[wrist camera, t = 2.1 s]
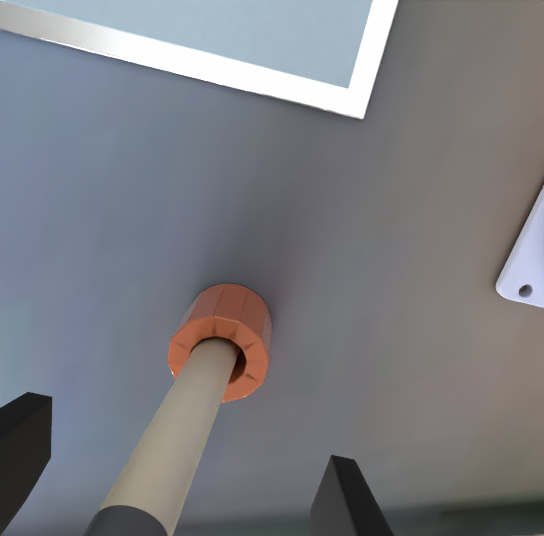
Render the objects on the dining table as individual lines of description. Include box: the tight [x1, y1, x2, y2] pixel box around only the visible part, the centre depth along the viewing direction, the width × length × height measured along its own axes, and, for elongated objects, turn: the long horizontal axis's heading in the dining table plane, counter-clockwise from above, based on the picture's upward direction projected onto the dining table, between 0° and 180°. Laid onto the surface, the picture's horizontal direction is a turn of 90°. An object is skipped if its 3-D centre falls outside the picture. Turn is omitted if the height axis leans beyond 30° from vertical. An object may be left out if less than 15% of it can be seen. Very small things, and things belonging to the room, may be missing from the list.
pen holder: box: [167, 284, 272, 403], centre depth 15 cm, size 4×4×3 cm
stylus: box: [83, 336, 241, 536], centre depth 11 cm, size 2×2×11 cm
